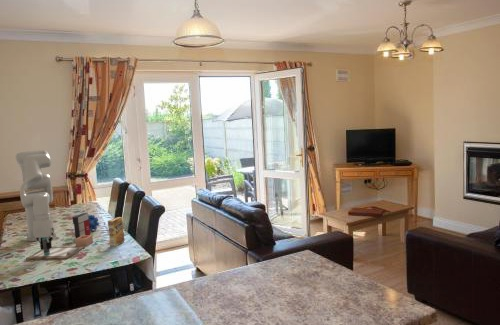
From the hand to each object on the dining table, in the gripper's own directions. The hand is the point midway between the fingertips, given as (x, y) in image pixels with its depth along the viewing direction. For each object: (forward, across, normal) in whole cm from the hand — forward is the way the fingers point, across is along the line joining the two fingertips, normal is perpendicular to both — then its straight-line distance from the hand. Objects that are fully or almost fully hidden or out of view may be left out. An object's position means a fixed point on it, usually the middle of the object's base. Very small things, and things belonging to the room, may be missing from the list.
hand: (46, 248), depth 213 cm
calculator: (+5, +2, +34) cm, 34 cm away
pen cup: (+5, +11, +20) cm, 23 cm away
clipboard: (+5, +3, +4) cm, 7 cm away
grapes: (+5, 0, +48) cm, 48 cm away
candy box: (+5, +32, +20) cm, 38 cm away
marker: (+3, 0, 0) cm, 3 cm away
